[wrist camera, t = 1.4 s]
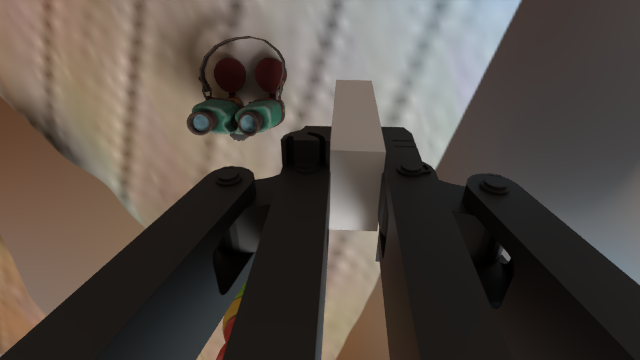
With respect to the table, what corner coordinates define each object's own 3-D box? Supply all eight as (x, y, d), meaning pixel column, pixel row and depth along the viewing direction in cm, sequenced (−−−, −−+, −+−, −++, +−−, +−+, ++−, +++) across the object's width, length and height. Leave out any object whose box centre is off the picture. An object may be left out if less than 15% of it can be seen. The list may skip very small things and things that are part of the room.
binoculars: (268, 30, 28) (273, 152, 31) (290, 38, 38) (292, 130, 41) (160, 31, 29) (176, 150, 32) (210, 39, 39) (218, 129, 42)
